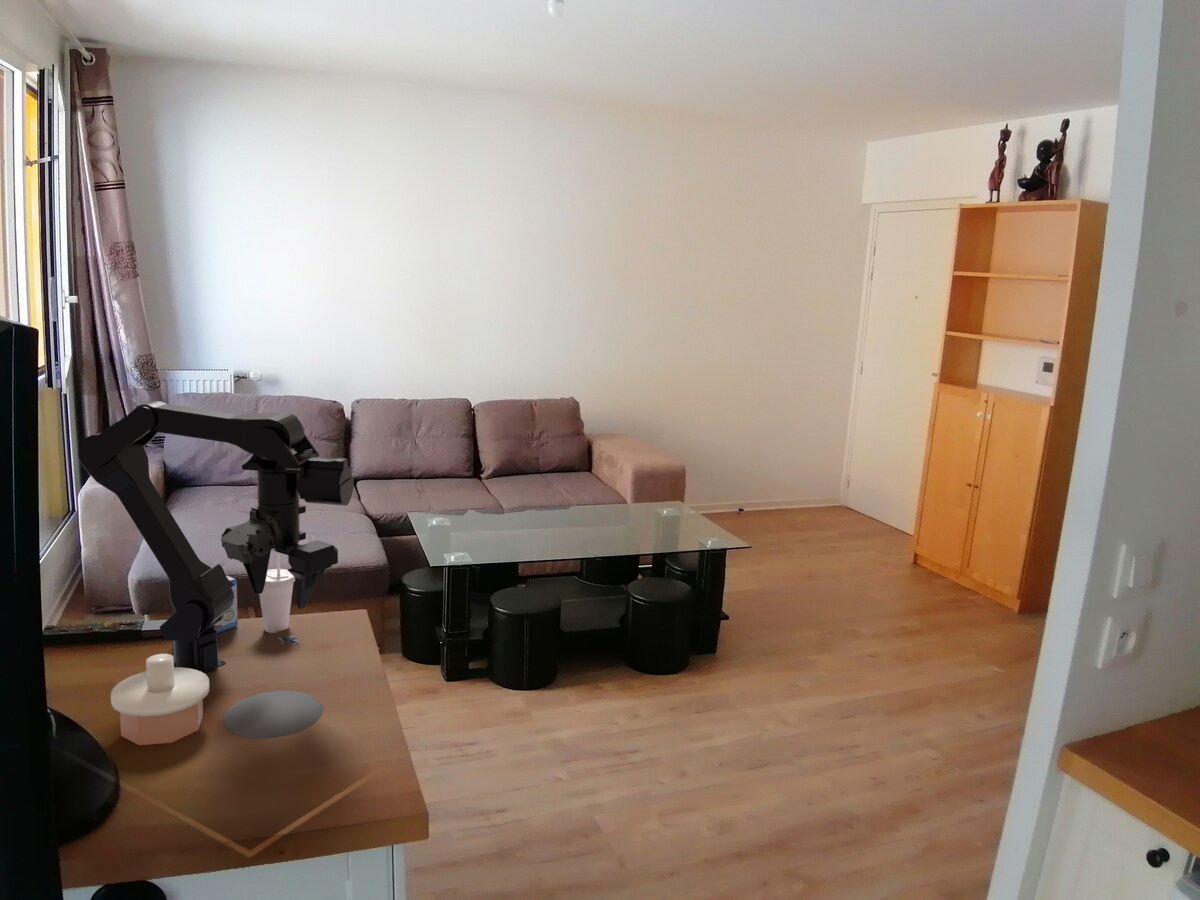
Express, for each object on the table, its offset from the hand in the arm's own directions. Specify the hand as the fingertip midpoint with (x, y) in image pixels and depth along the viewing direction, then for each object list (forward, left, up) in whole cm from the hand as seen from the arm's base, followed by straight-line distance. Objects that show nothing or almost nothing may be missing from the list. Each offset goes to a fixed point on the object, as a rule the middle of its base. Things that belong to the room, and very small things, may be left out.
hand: (279, 600), depth 131 cm
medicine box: (-22, +4, -12) cm, 26 cm away
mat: (+9, -9, -12) cm, 17 cm away
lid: (0, -19, -7) cm, 21 cm away
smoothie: (-14, +11, -12) cm, 22 cm away
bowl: (0, -19, -12) cm, 23 cm away
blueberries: (-8, +8, -13) cm, 17 cm away
